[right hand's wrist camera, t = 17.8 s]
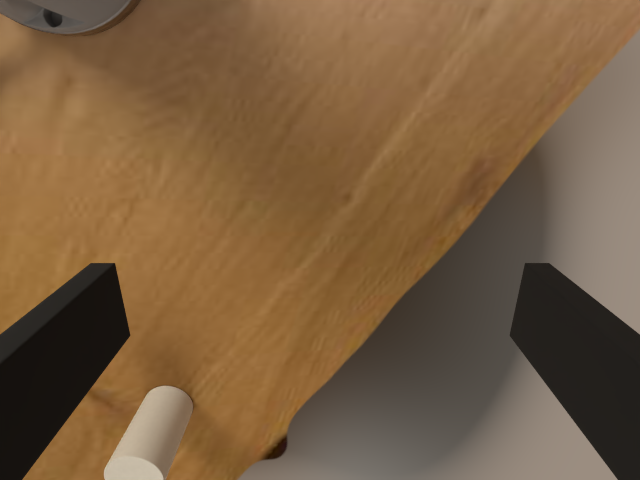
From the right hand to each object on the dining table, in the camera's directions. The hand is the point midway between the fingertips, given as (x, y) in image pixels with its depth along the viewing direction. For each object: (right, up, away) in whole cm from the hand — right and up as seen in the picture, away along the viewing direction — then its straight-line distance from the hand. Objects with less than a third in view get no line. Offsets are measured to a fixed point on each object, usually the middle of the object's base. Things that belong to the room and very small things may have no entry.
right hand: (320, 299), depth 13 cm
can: (-17, -17, +33) cm, 41 cm away
